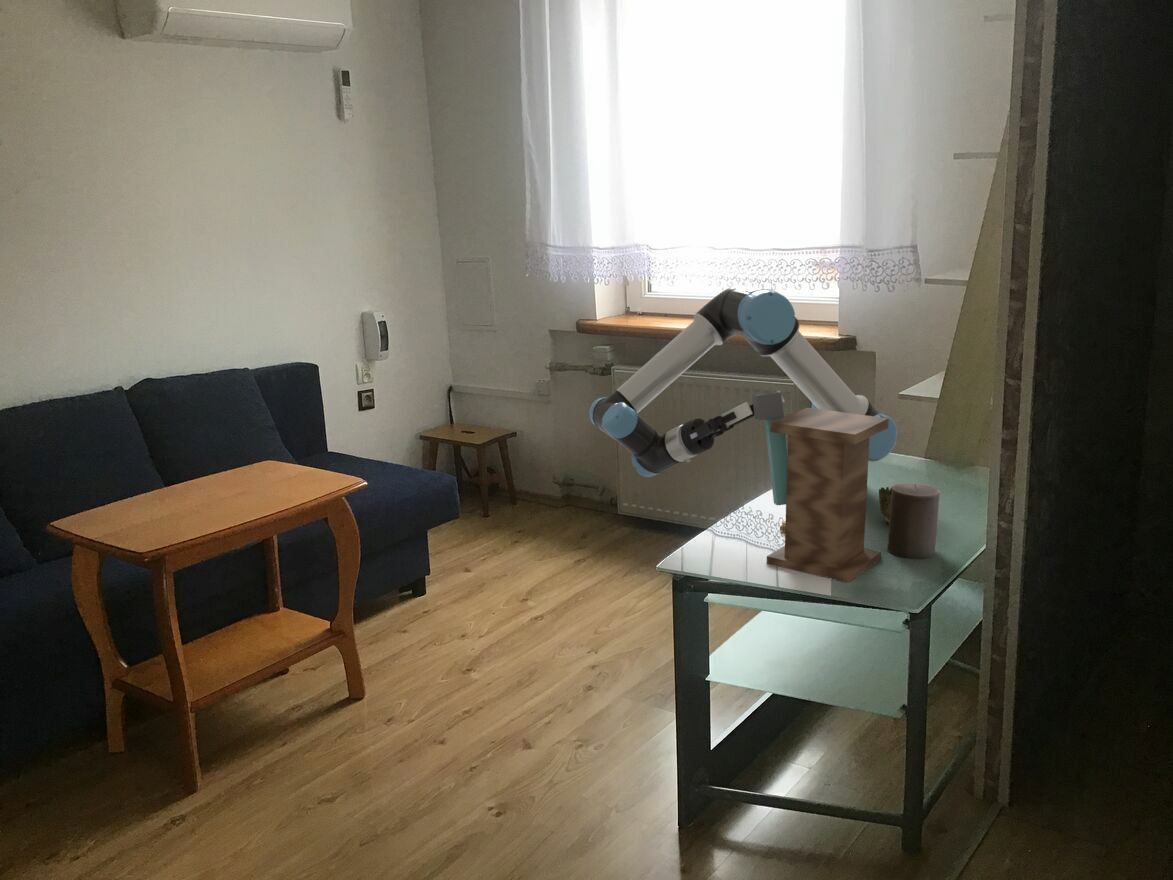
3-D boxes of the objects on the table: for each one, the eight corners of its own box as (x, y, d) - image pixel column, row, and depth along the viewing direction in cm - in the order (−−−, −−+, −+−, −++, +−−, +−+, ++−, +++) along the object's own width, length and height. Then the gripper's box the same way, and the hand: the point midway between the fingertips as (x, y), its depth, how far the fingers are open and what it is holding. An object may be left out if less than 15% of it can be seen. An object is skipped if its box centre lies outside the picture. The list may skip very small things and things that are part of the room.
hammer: (793, 504, 215) (769, 507, 215) (788, 500, 220) (764, 503, 220) (781, 392, 213) (756, 395, 213) (775, 391, 218) (752, 394, 218)
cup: (912, 530, 235) (914, 496, 233) (878, 528, 236) (880, 494, 234) (909, 519, 242) (911, 486, 240) (876, 518, 243) (877, 485, 241)
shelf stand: (766, 563, 217) (770, 422, 210) (802, 541, 229) (806, 407, 222) (848, 582, 206) (855, 434, 199) (881, 558, 218) (888, 418, 211)
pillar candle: (890, 558, 219) (895, 489, 215) (884, 541, 228) (889, 475, 224) (939, 560, 217) (945, 491, 214) (930, 543, 227) (936, 477, 223)
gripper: (727, 442, 241) (801, 407, 227) (665, 467, 222) (742, 430, 208) (713, 413, 242) (786, 375, 228) (651, 435, 223) (726, 396, 209)
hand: (765, 401), depth 218 cm, fingers open, 13 cm apart
